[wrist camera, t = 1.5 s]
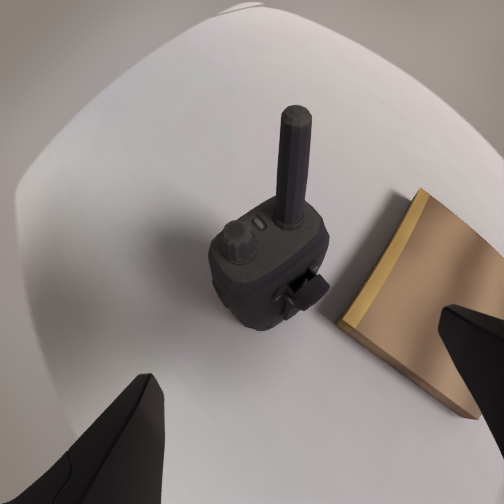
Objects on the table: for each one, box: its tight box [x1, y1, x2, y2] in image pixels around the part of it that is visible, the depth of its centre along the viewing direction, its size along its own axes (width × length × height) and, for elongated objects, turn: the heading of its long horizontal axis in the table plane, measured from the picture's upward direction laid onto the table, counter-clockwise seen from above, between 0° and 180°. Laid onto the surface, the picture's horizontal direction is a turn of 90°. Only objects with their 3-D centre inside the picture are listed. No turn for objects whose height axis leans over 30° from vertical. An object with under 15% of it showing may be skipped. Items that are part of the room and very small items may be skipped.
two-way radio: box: [208, 105, 330, 331], centre depth 12 cm, size 6×4×15 cm
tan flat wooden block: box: [335, 188, 504, 420], centre depth 17 cm, size 14×13×2 cm
